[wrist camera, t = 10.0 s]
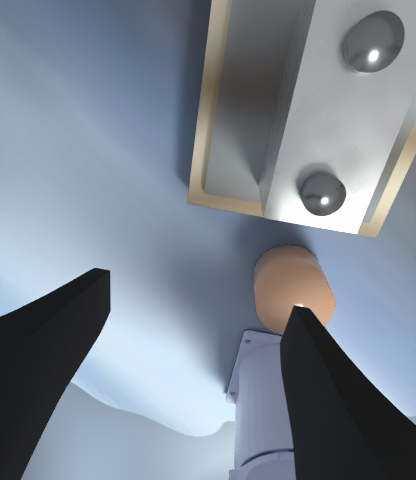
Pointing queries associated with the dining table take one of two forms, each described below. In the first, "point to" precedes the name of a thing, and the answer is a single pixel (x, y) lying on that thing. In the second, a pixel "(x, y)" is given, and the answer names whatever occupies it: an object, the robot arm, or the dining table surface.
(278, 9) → the birch plinth
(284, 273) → the peach rounded cylinder
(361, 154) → the alloy housing
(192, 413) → the dining table surface
